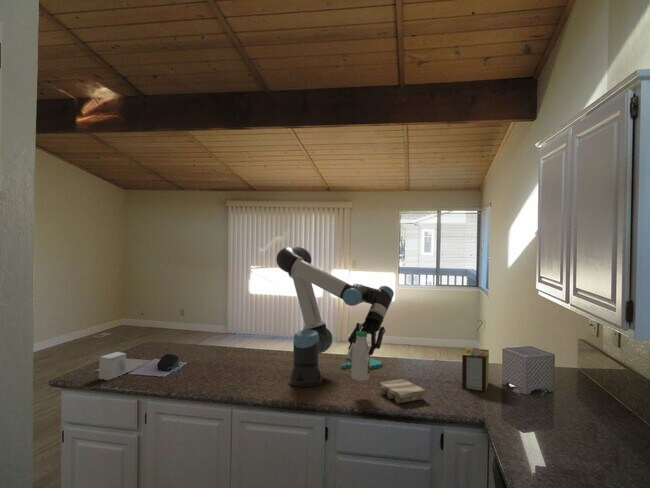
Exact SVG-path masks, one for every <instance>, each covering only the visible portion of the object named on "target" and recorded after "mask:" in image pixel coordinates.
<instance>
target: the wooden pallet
mask: <svg viewBox="0 0 650 488" xmlns="http://www.w3.org/2000/svg"><path fill="white" fill-rule="evenodd" d="M378 387H379V388H380V389H379V393H380V395H381V396H384V395H386V396H387V398H388V400H394V402H395V404H397V405H399V404H402V403H403V404H405V403H409V402H416V401H419V400H420V401H421V400H425V397H426V396H425V395H426V394H427V389H425V388H423V387H420V386H419V385H416V384H415V383H412V382H410V381H408V380H406V379H404V378H401V379H395V380H388V381H381V382H380V381H379V382H378Z"/></svg>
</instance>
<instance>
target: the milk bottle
mask: <svg viewBox="0 0 650 488" xmlns="http://www.w3.org/2000/svg"><path fill="white" fill-rule="evenodd" d="M356 337H357V339H356V342H355V345H354V347H353V350H352V361H351V362H352V367H351V368H350V372H351V373H350V374H351V376H350V377H351V379H352V380H354V381H359V382H364V381H368V380H370V357H371V356H370V357H369V360H368V362H367V363H366V362H365V360H364V357H365V354H366V352H367V350H368V347H369V346H370V345H369V344H368V340H367V337H368V334H367V332H365V331H361V330H360V331H357V332H356Z"/></svg>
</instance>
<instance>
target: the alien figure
mask: <svg viewBox="0 0 650 488" xmlns="http://www.w3.org/2000/svg"><path fill="white" fill-rule="evenodd" d="M345 359H346V360H347V361H349V362H350V363H348V362H347V363H341V365H340V366H341V367H340V368H341V369H343V370H345V369H351V368H352V357H351V359H349V358H348V357H347V356H346V358H345ZM382 364H383V363H382V361H381V360H378V359H375V358H371V356H370V370H371V371H372V369H375V370H376V369H377V368H378V369H381V368H382V366H383V365H382Z"/></svg>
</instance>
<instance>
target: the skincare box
mask: <svg viewBox="0 0 650 488" xmlns="http://www.w3.org/2000/svg"><path fill="white" fill-rule="evenodd" d="M98 361H99V364H98V365H99V367H98V379H99V380H103V379H104V380H105V381H111V380H113V378H114V379H116V377H117V378H119V377H118V376H120V377H122V376H124V375H123V374H125V375H126V369H127V367H126V365H127V352H126V353H125V352H120V351H114V352H112V353H108V354H105V355H101V356H99V360H98ZM121 375H122V376H121ZM110 379H111V380H110Z"/></svg>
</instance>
